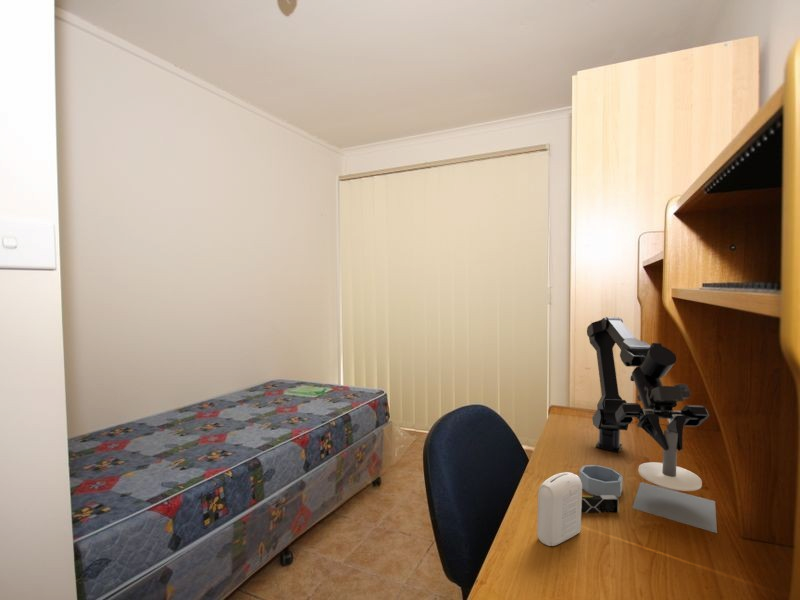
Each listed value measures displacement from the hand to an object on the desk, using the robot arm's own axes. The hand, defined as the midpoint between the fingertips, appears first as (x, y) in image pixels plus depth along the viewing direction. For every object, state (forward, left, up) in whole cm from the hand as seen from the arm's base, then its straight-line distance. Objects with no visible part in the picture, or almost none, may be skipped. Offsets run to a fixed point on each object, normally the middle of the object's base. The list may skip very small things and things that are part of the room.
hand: (673, 449), depth 91 cm
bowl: (0, -15, -13) cm, 20 cm away
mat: (-2, 0, -13) cm, 14 cm away
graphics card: (+13, -14, -14) cm, 24 cm away
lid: (-1, -1, -7) cm, 7 cm away
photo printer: (+25, -18, -14) cm, 34 cm away
